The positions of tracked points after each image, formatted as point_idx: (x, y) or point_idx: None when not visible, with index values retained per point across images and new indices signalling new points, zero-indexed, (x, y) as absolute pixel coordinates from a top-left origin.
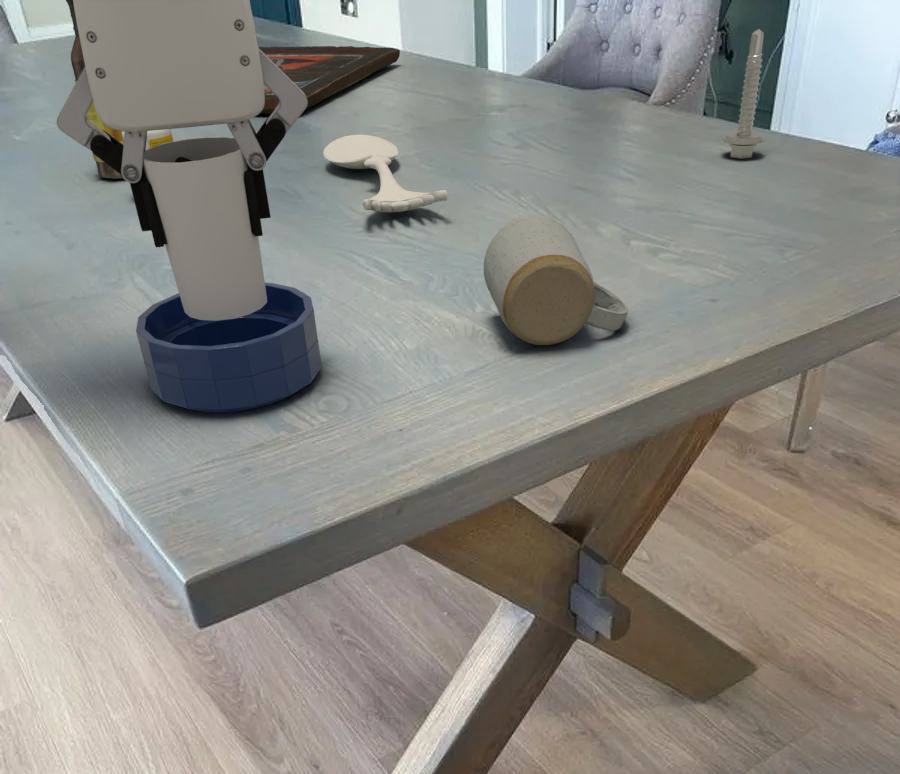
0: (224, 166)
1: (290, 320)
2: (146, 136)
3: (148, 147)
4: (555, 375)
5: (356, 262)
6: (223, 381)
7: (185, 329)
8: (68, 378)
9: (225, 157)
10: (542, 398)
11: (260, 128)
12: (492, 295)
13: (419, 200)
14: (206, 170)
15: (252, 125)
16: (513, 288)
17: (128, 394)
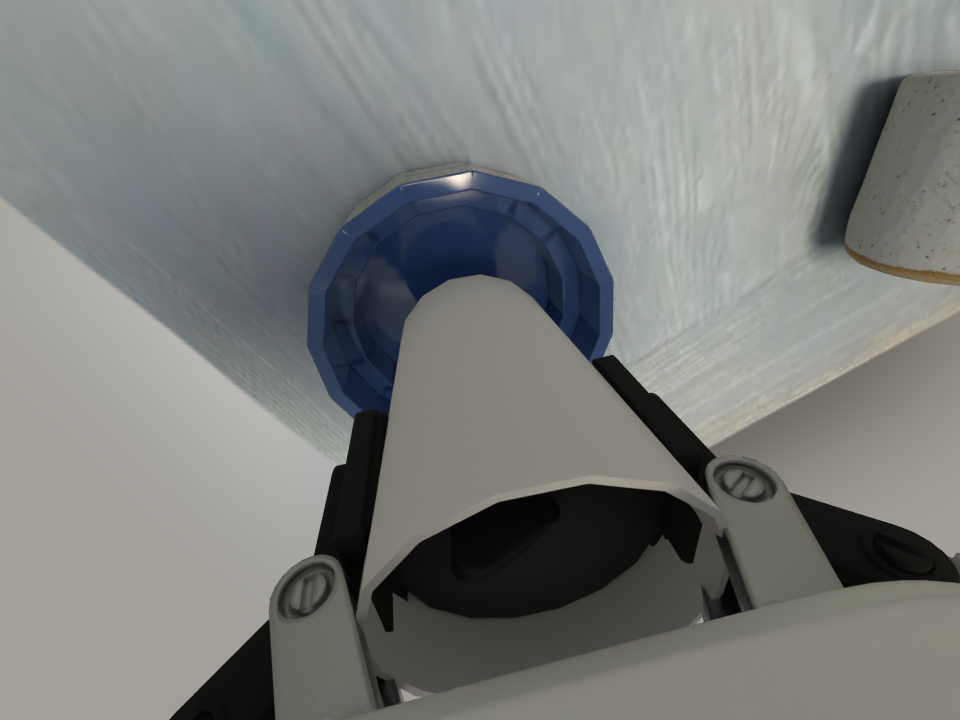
0: (631, 629)
1: (552, 232)
2: (379, 694)
3: None
4: (825, 311)
5: None
6: None
7: (365, 255)
8: (159, 269)
9: None
10: (784, 360)
11: (835, 571)
12: (891, 178)
13: None
14: (584, 651)
15: (825, 559)
16: (912, 277)
17: (302, 330)
